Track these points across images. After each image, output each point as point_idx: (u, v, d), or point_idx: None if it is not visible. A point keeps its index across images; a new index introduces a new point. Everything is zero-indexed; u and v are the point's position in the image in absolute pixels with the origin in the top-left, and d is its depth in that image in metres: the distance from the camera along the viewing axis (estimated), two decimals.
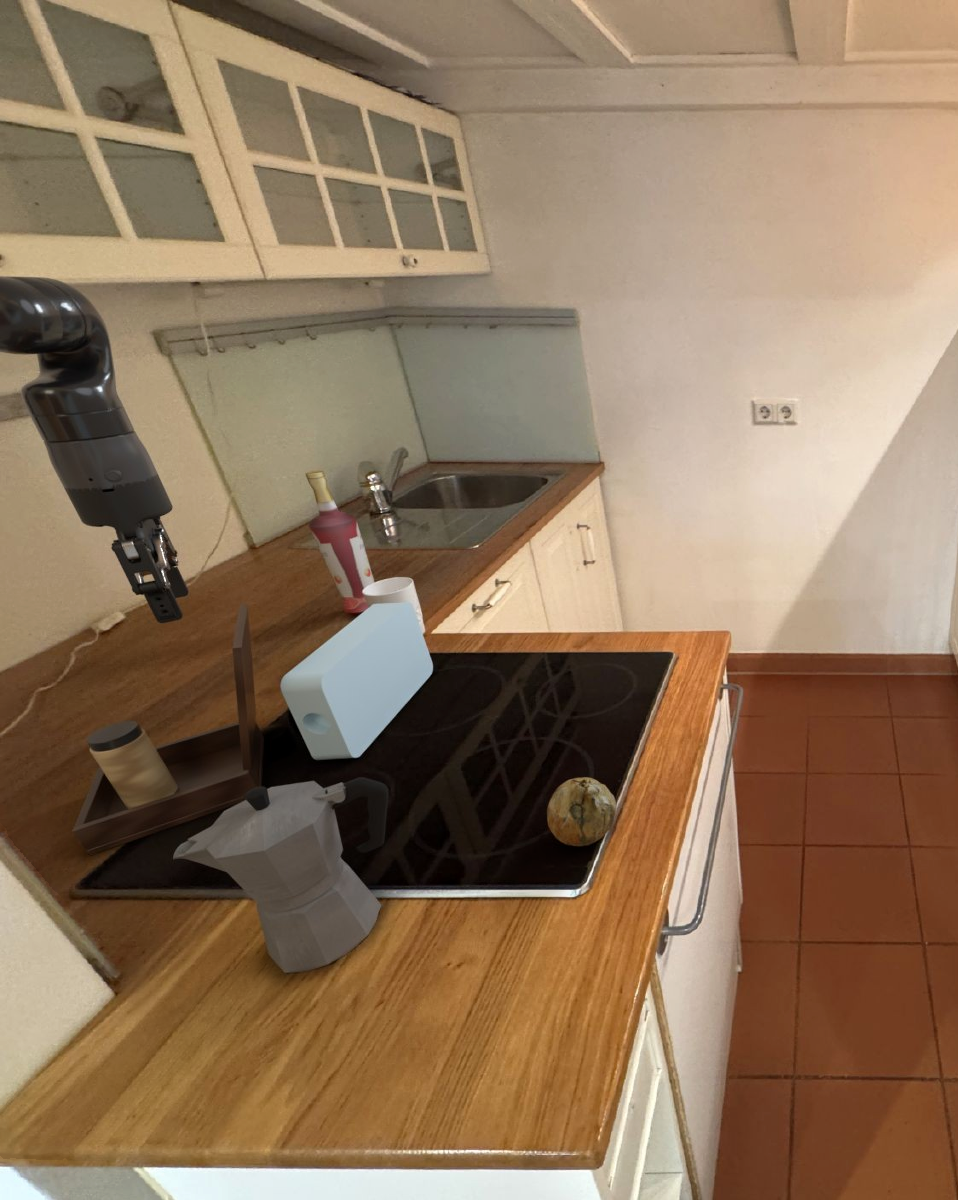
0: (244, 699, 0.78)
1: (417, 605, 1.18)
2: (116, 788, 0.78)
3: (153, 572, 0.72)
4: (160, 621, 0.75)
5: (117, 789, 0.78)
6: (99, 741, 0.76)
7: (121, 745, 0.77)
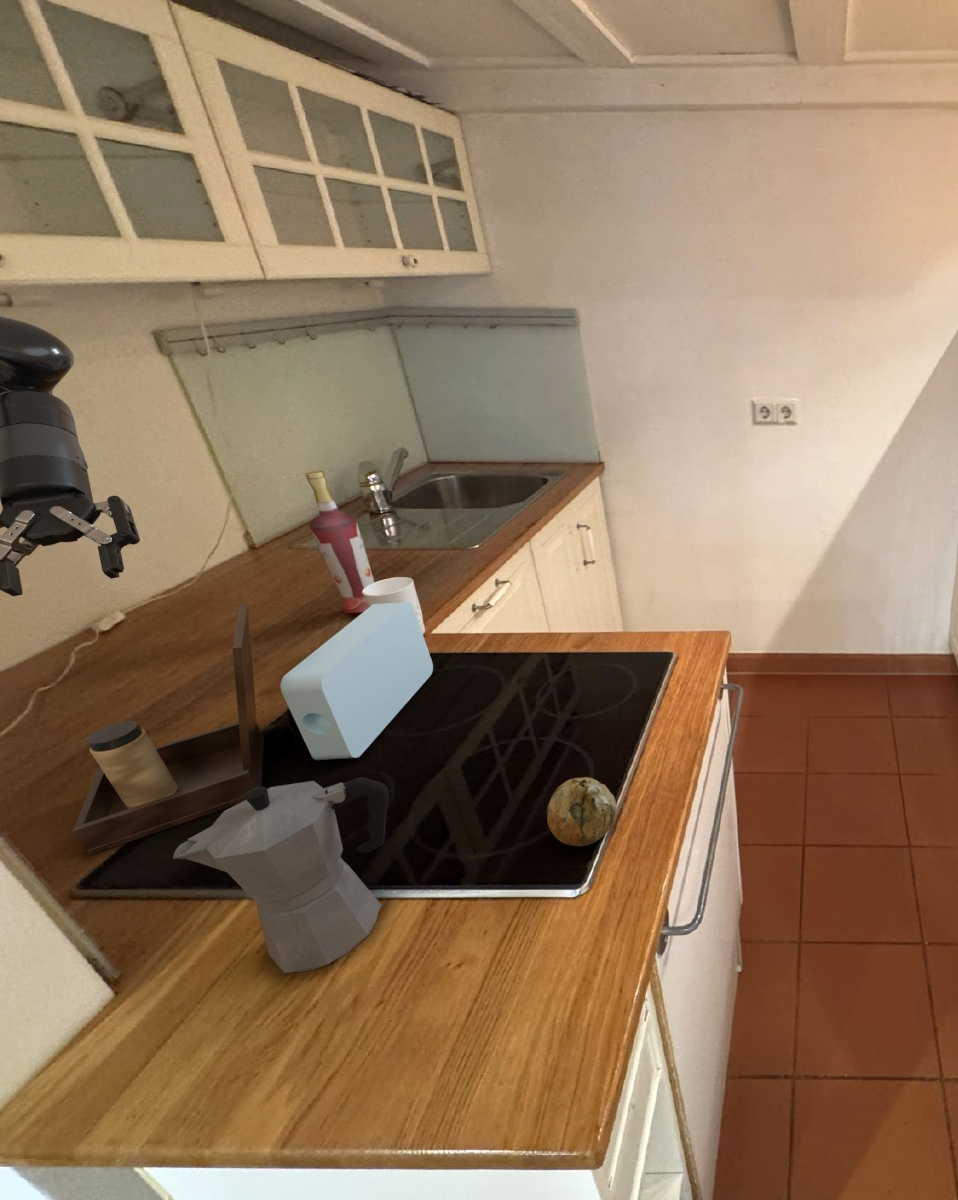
0: (244, 699, 0.78)
1: (417, 605, 1.18)
2: (116, 788, 0.78)
3: (135, 527, 0.84)
4: (111, 570, 0.80)
5: (117, 789, 0.78)
6: (99, 741, 0.76)
7: (121, 745, 0.77)
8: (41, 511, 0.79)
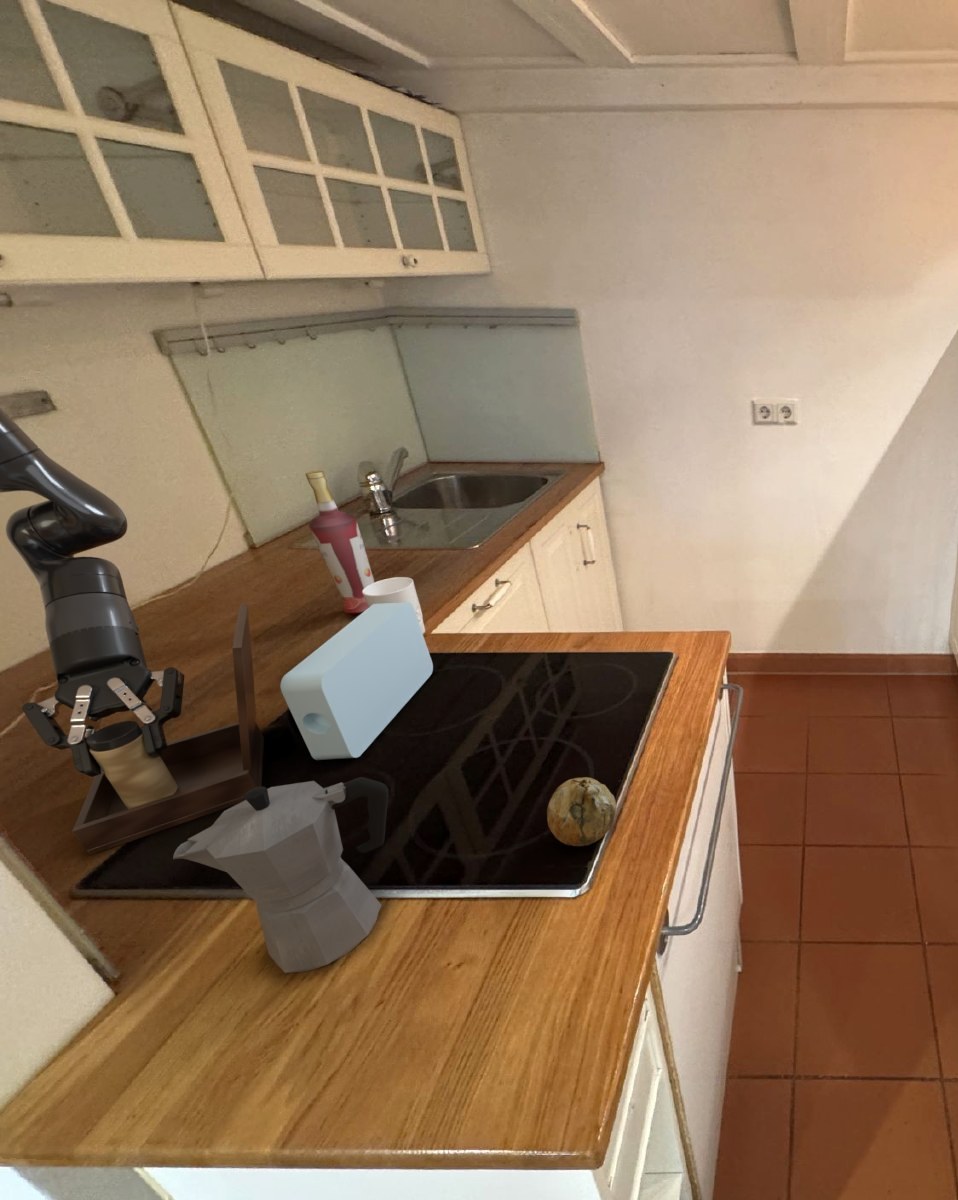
0: (244, 699, 0.78)
1: (417, 605, 1.18)
2: (116, 788, 0.78)
3: (181, 699, 0.83)
4: (155, 751, 0.78)
5: (117, 789, 0.78)
6: (99, 741, 0.76)
7: (120, 746, 0.76)
8: (98, 684, 0.79)
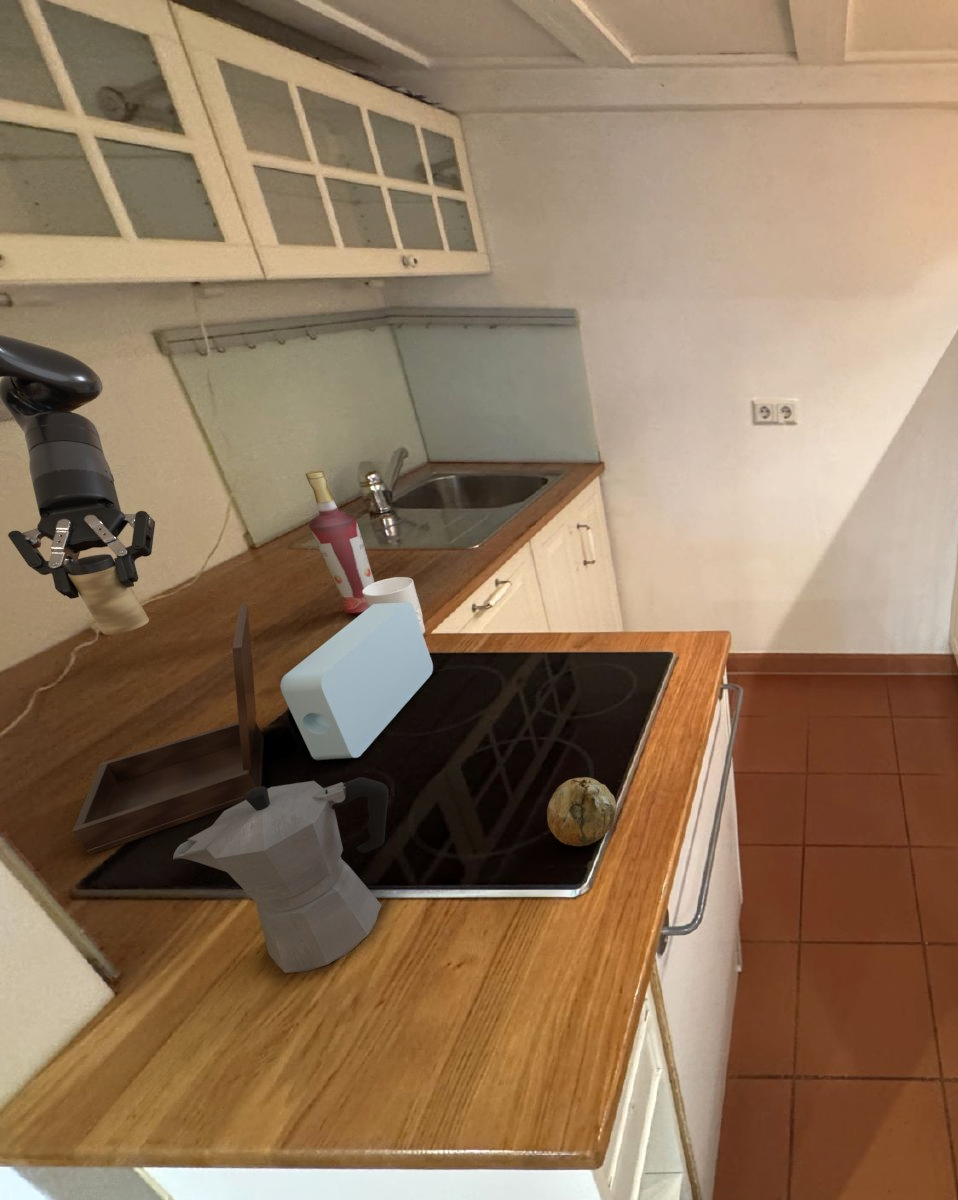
0: (244, 699, 0.78)
1: (417, 605, 1.18)
2: (92, 612, 0.88)
3: (151, 541, 0.92)
4: (127, 579, 0.88)
5: (93, 613, 0.88)
6: (76, 565, 0.85)
7: (95, 571, 0.86)
8: (76, 520, 0.88)
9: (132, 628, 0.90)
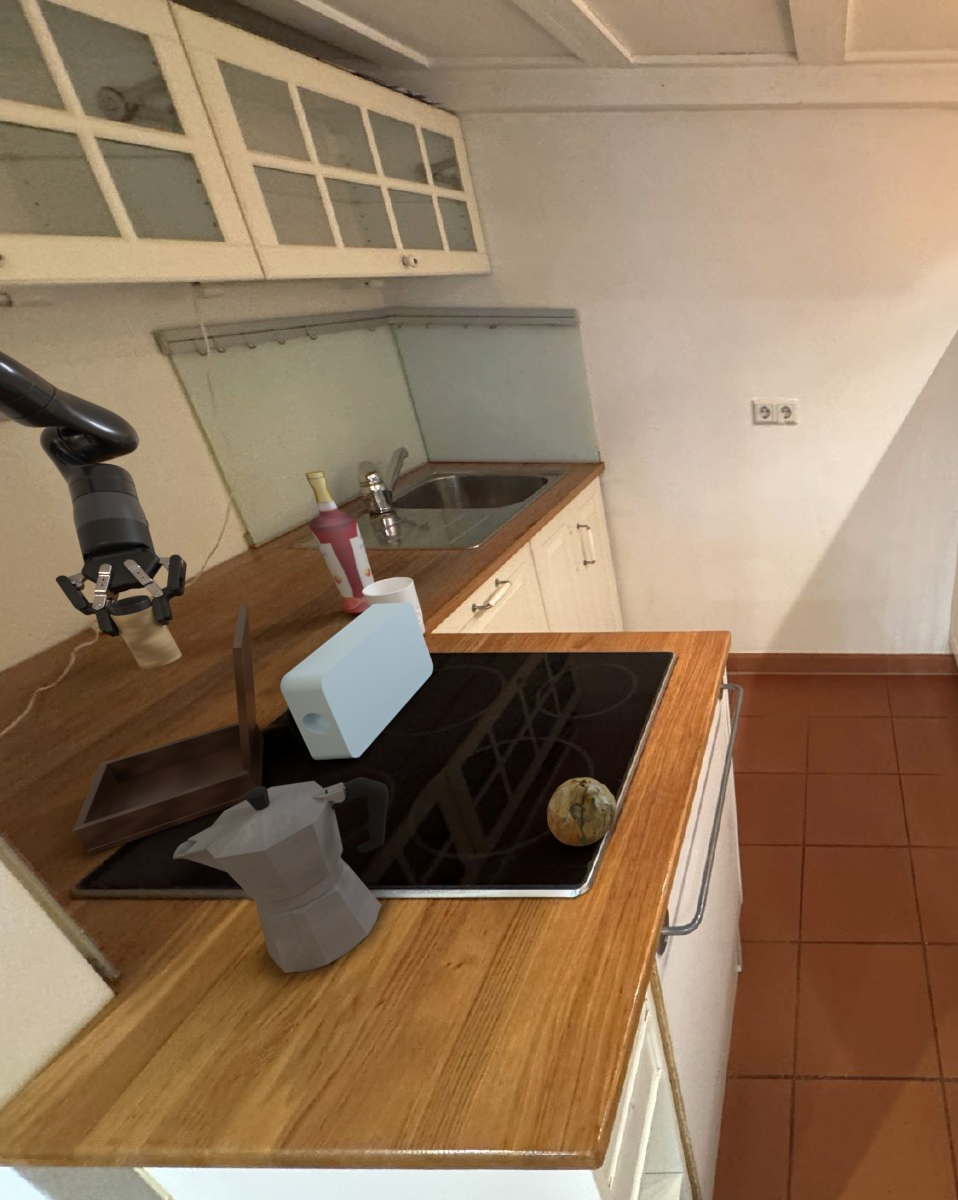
0: (244, 699, 0.78)
1: (417, 605, 1.18)
2: (131, 648, 0.96)
3: (184, 581, 1.00)
4: (163, 618, 0.96)
5: (132, 649, 0.96)
6: (118, 607, 0.93)
7: (135, 612, 0.94)
8: (116, 564, 0.96)
9: (167, 662, 0.98)
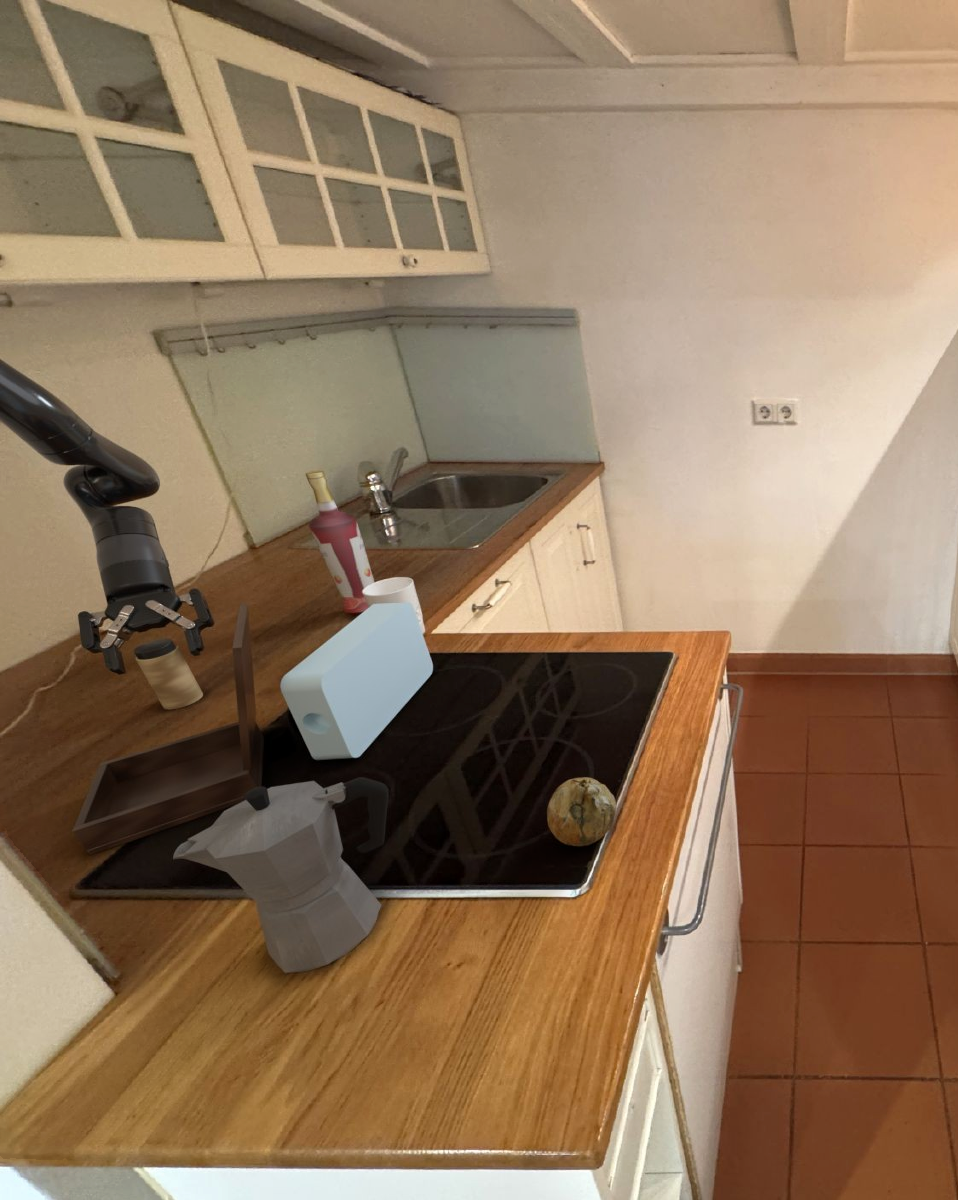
0: (244, 699, 0.78)
1: (417, 605, 1.18)
2: (156, 690, 0.99)
3: (210, 612, 1.04)
4: (195, 650, 1.00)
5: (156, 691, 0.99)
6: (143, 651, 0.97)
7: (160, 655, 0.97)
8: (138, 605, 0.99)
9: (189, 703, 1.01)
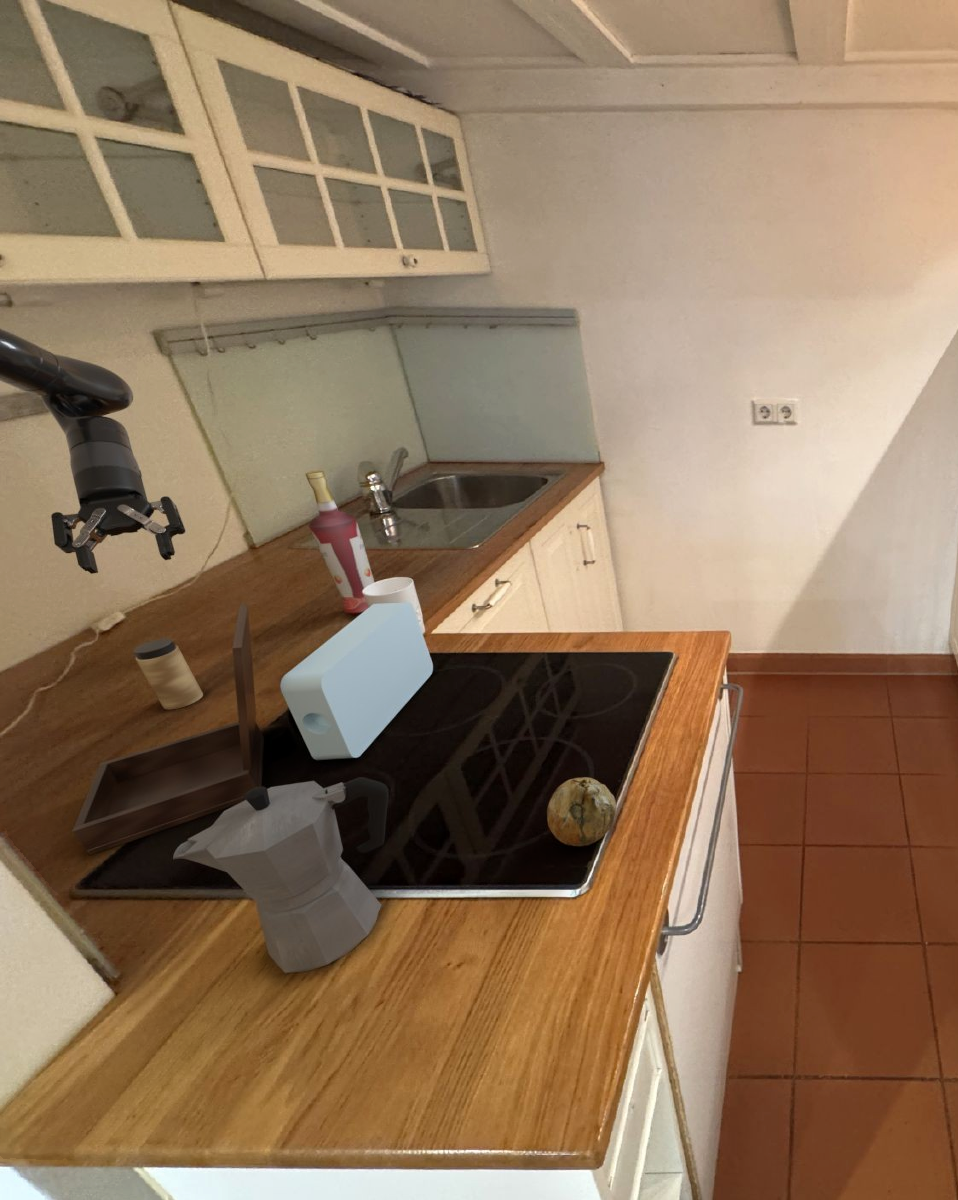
0: (244, 699, 0.78)
1: (417, 605, 1.18)
2: (156, 690, 0.99)
3: (181, 520, 1.07)
4: (166, 553, 1.03)
5: (156, 691, 0.99)
6: (143, 651, 0.97)
7: (160, 655, 0.97)
8: (110, 508, 1.02)
9: (189, 703, 1.01)
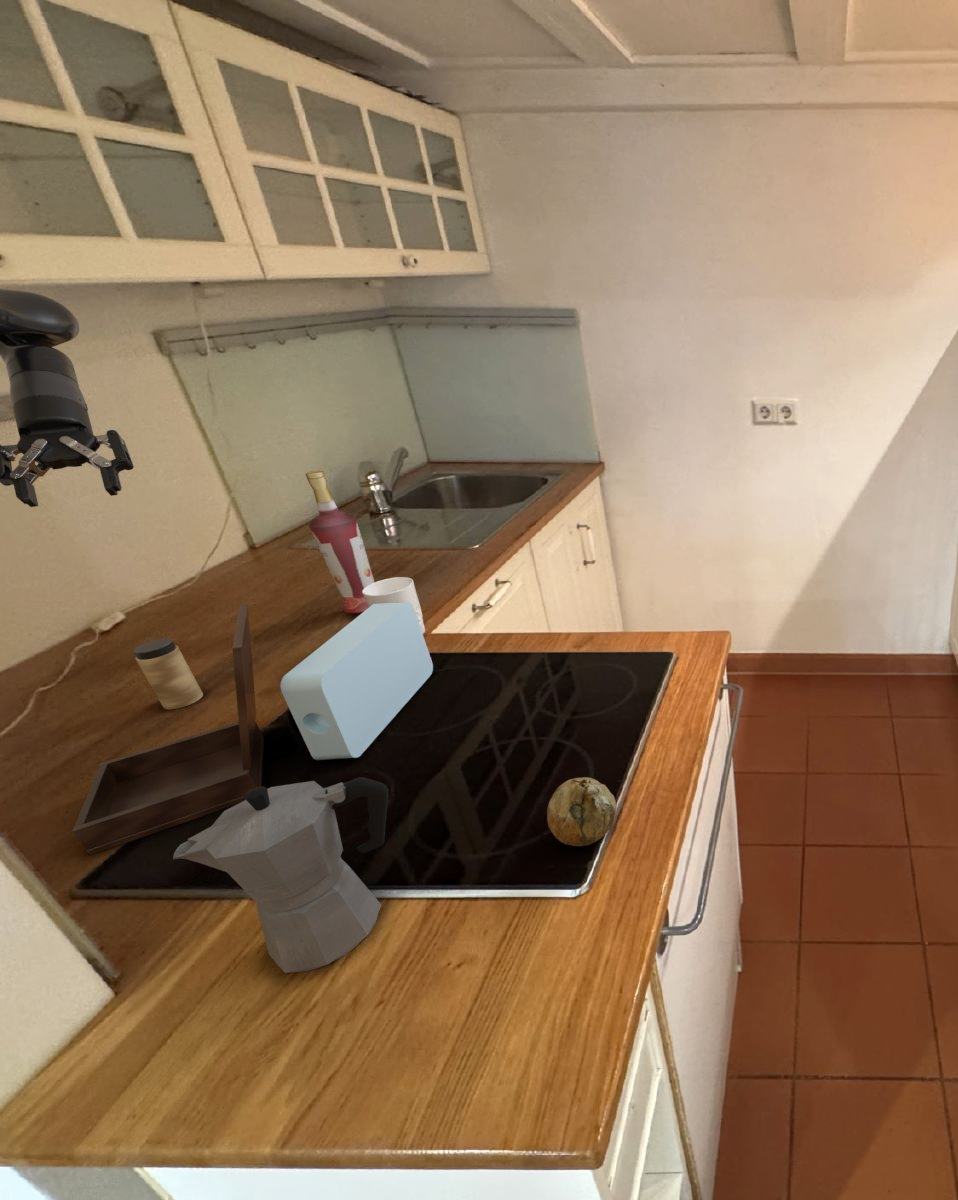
0: (244, 699, 0.78)
1: (417, 605, 1.18)
2: (156, 690, 0.99)
3: (129, 456, 1.03)
4: (111, 487, 0.98)
5: (156, 691, 0.99)
6: (143, 651, 0.97)
7: (160, 655, 0.97)
8: (52, 440, 0.98)
9: (189, 703, 1.01)
